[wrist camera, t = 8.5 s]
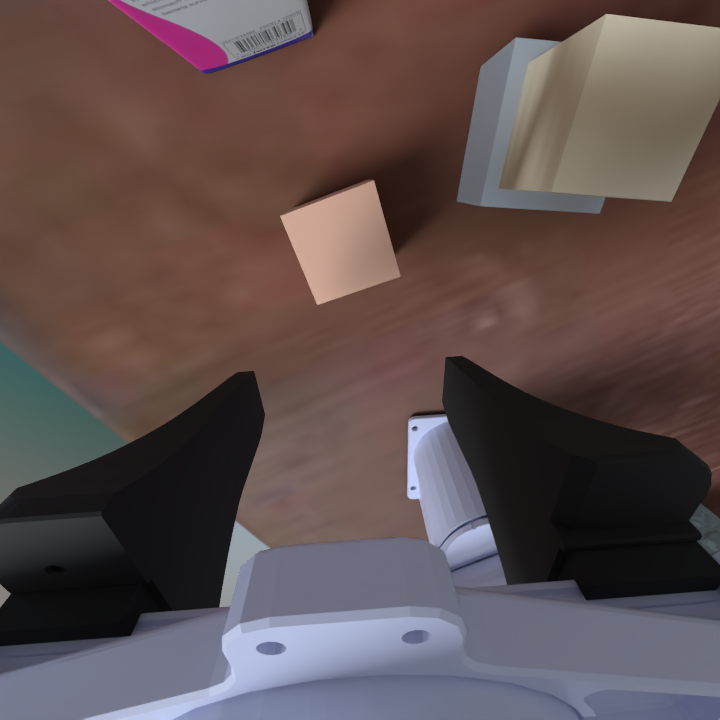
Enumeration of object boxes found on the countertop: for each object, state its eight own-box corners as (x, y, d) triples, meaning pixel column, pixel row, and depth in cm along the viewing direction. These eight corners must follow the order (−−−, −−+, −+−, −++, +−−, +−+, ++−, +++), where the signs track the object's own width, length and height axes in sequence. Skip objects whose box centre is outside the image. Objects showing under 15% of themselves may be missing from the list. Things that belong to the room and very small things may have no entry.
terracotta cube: (389, 257, 21) (400, 276, 17) (322, 280, 21) (317, 304, 17) (367, 179, 18) (374, 180, 15) (293, 207, 19) (280, 216, 15)
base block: (553, 207, 20) (599, 213, 16) (455, 201, 19) (480, 206, 16) (594, 77, 17) (660, 51, 13) (479, 67, 16) (516, 37, 13)
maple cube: (589, 195, 16) (671, 201, 12) (498, 188, 15) (551, 191, 11) (633, 74, 14) (751, 31, 10) (528, 62, 13) (606, 14, 9)
